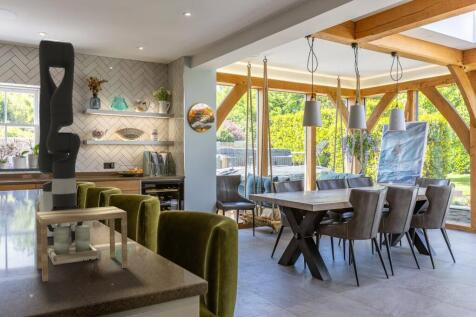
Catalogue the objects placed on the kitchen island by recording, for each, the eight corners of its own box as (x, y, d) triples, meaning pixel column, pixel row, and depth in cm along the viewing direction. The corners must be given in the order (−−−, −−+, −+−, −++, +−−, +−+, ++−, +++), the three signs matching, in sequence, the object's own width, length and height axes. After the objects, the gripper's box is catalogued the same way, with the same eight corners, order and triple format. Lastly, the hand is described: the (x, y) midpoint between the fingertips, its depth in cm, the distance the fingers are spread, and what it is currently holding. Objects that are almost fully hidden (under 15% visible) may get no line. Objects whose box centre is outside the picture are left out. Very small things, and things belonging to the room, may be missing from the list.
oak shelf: (36, 268, 110) (36, 212, 110) (113, 257, 122) (113, 206, 121) (42, 281, 99) (41, 219, 98) (127, 268, 110) (126, 211, 109)
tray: (45, 249, 133) (44, 222, 133) (83, 244, 139) (82, 218, 139) (53, 264, 114) (53, 233, 114) (97, 258, 120) (96, 228, 120)
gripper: (42, 194, 127) (43, 247, 128) (88, 191, 135) (89, 242, 135) (39, 192, 134) (40, 243, 134) (84, 189, 141) (85, 238, 142)
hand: (65, 242), depth 135 cm, fingers closed on tray, 3 cm apart
